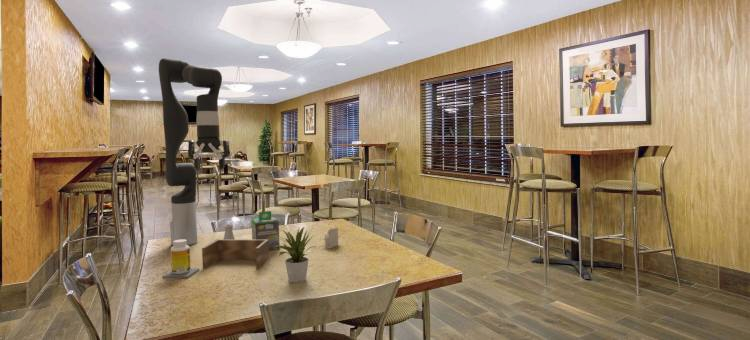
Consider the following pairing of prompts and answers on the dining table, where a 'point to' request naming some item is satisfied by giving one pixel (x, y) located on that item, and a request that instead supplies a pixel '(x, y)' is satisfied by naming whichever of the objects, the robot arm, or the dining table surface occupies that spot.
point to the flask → (228, 233)
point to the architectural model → (331, 238)
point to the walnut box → (236, 251)
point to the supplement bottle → (180, 257)
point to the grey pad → (185, 275)
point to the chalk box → (266, 229)
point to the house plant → (296, 256)
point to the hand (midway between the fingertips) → (209, 169)
